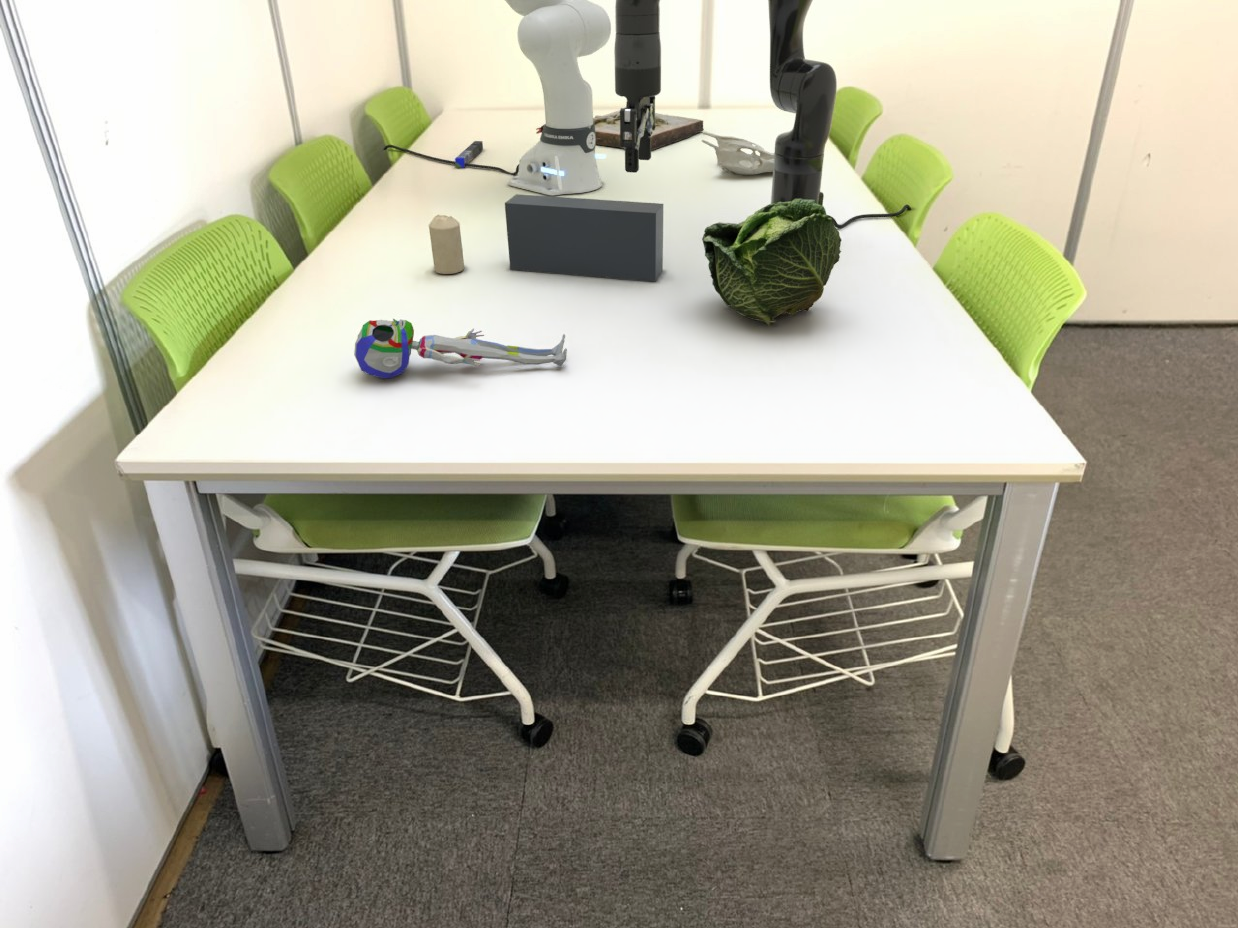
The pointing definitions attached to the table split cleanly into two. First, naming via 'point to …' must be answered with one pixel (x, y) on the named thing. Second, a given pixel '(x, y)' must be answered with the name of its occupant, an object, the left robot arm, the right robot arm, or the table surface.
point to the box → (585, 237)
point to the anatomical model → (741, 155)
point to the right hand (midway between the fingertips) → (638, 165)
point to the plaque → (663, 134)
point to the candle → (446, 244)
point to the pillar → (468, 154)
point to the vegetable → (773, 259)
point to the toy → (435, 349)
